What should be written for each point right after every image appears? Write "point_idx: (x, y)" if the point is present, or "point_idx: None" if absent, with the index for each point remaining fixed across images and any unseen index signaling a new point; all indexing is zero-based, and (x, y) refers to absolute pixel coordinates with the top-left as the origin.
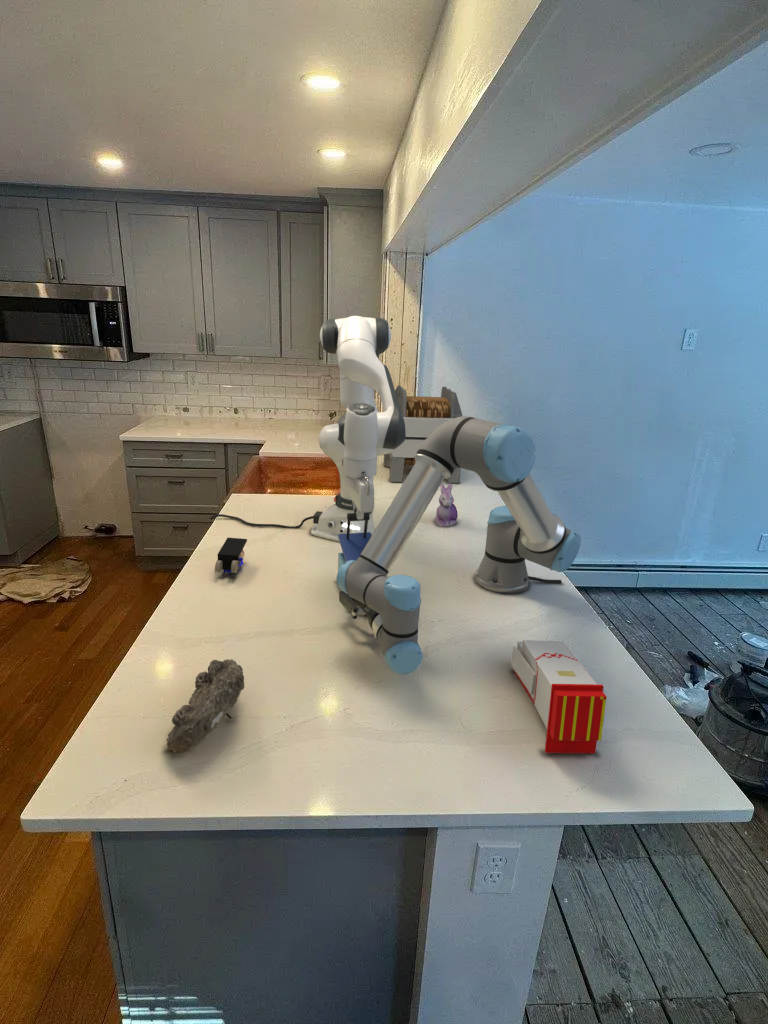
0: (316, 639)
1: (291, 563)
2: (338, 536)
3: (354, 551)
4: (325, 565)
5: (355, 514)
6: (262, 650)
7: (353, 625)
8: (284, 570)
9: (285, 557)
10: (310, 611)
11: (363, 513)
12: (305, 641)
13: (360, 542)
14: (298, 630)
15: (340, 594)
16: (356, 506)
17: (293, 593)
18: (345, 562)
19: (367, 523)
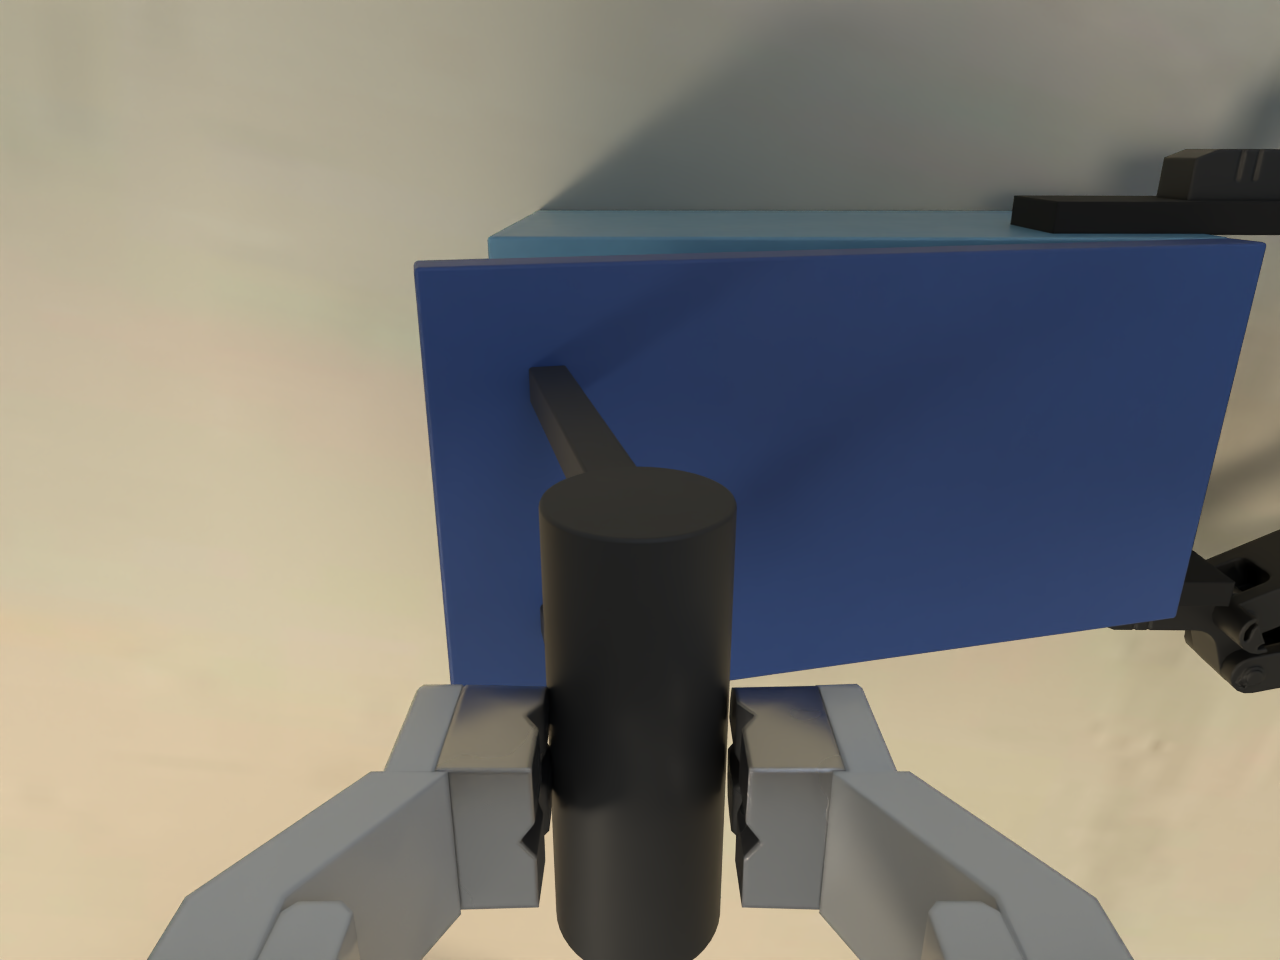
0: (1260, 721)
1: (203, 733)
2: None
3: (826, 552)
4: (241, 512)
5: (683, 836)
6: (1237, 956)
7: None
8: (319, 784)
9: (98, 758)
10: (930, 708)
11: (894, 769)
12: (1252, 775)
13: (665, 460)
14: (1123, 793)
15: (1266, 685)
16: (435, 871)
17: None
18: None
19: (623, 452)
